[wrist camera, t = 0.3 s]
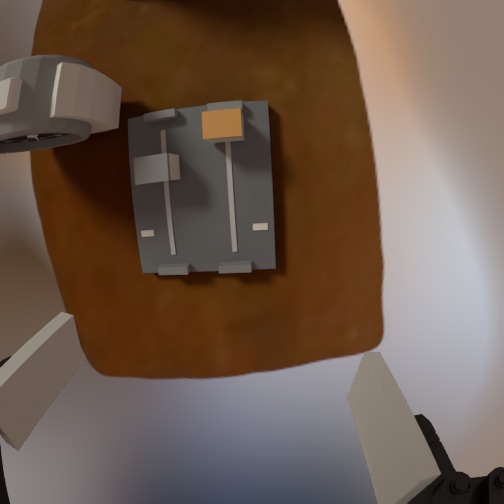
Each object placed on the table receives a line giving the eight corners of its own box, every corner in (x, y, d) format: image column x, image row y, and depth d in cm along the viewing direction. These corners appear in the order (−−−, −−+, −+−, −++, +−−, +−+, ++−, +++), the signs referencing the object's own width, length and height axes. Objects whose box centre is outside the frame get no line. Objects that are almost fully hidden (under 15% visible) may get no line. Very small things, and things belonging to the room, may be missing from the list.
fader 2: (209, 119, 30) (201, 112, 26) (243, 116, 30) (240, 108, 26) (210, 143, 31) (202, 139, 27) (244, 140, 31) (241, 135, 27)
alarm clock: (42, 153, 34) (-53, 160, 14) (46, 105, 31) (-45, 92, 12) (132, 138, 33) (27, 122, 14) (136, 81, 31) (45, 30, 12)
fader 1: (148, 159, 32) (133, 158, 27) (178, 154, 32) (166, 152, 27) (150, 182, 33) (135, 184, 28) (180, 179, 32) (168, 180, 28)
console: (134, 120, 33) (122, 117, 29) (267, 104, 32) (267, 97, 28) (148, 268, 39) (138, 276, 35) (274, 263, 38) (276, 272, 34)
